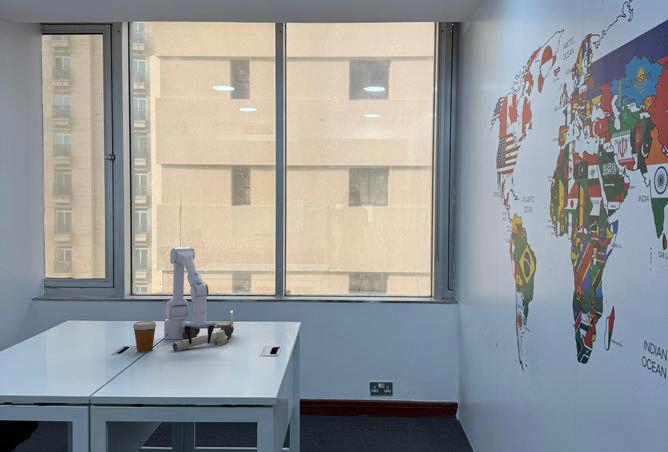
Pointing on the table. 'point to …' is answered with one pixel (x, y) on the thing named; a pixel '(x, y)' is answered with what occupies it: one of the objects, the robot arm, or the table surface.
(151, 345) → the disposable coffee cup
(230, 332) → the trolley
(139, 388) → the table surface
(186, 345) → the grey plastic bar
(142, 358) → the table surface
